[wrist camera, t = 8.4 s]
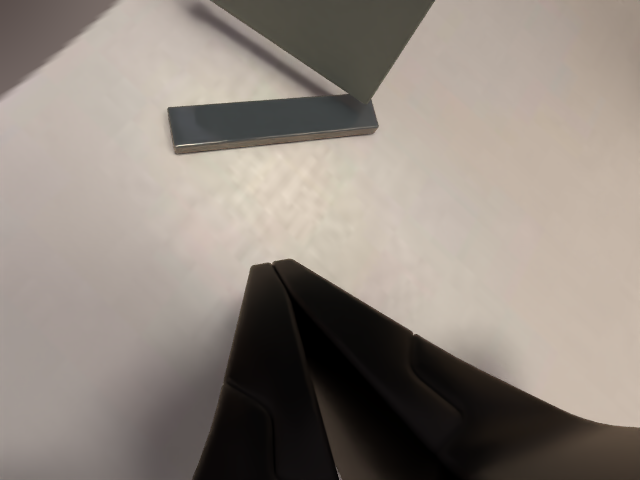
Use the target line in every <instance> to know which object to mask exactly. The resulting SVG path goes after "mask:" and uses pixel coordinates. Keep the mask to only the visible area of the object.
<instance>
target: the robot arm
mask: <svg viewBox="0 0 640 480" xmlns="http://www.w3.org/2000/svg"><path fill="white" fill-rule="evenodd" d="M335 465H336V466H335ZM336 467H337V469H338V472H339V474H340V476H341V479H342V480H640V428H636V427H623V426H613V425H608V424H602V423H597V422H594V421H590V420H587V419H584V418H581V417H578V416H575V415H573V414H570V413H568V412H566V411H563V410H561V409H559V408H557V407H555V406H553V405H551V404H549V403H547V402H545V401H543V400H541V399H539V398H537V397H534V396H532V395H530V394H528V393H526V392H524V391H522V390H520V389H518V388H516V387H514V386H512V385H510V384H508V383H506V382H504V381H502V380H500V379H498V378H496V377H494V376H492V375H490V374H488V373H486V372H484V371H482V370H480V369H478V368H476V367H474V366H472V365H470V364H468V363H466V362H464V361H462V360H460V359H458V358H457V357H455V356H453V355H451V354H450V353H448V352H446V351H444V350H443V349H441V348H439V347H437V346H436V345H434V344H432V343H431V342H429V341H427V340H426V339H424V338H422V337H421V336H419V335H417V334H414V336H413V332H412V331H410V330H409V329H407V328H405V327H404V326H402V325H400V324H399V323H397V322H395V321H394V320H392V319H391V318H389V317H387V316H386V315H384V314H382V313H381V312H379V311H377V310H376V309H374V308H372V307H371V306H369V305H367V304H366V303H364V302H362V301H361V300H359V299H357V298H356V297H354V296H352V295H351V294H349V293H348V292H346V291H344V290H343V289H341V288H339V287H338V286H336V285H334V284H333V283H331V282H329V281H328V280H326V279H324V278H323V277H321V276H319V275H318V274H316V273H314V272H313V271H311V270H309V269H308V268H306V267H305V266H303V265H301V264H300V263H298V262H296V261H295V260H293V259H284V260H279V261H274V262H273V263H272V264H271V263H263V264H258V265H253V266H252V267H251V268H250V272H249V276H248V281H247V285H246V289H245V293H244V297H243V302H242V306H241V310H240V314H239V318H238V322H237V327H236V331H235V335H234V339H233V343H232V348H231V352H230V356H229V360H228V364H227V368H226V373H225V377H224V381H223V385H222V388H221V392H220V396H219V401H218V405H217V408H216V412H215V415H214V419H213V422H212V426H211V429H210V432H209V435H208V438H207V441H206V443H205V446H204V449H203V452H202V455H201V457H200V460H199V463H198V465H197V468H196V470H195V473H194V475H193V478H192V480H339V477H338V474H337V470H336Z"/></svg>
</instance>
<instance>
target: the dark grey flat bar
mask: <svg viewBox="0 0 640 480" xmlns="http://www.w3.org/2000/svg"><path fill="white" fill-rule="evenodd" d="M167 110H168V116H169V122H170V128H171V133H172V139H173V145H174V150H175V153H176V154H180V153H189V152H199V151H208V150H218V149H228V148H237V147H247V146H257V145H266V144H276V143H285V142H295V141H305V140H314V139H324V138H333V137H343V136H353V135H362V134H372V133H374V132H375V131H376V130H377V129H378V122H377V119H376V115H375V111H374V107H373V104H372V100H370V101H369V103H368V104H367V105H365V104H363V103H362V102H360V101H359V100H357V99H356V98H355V97H353V96H352V95H350V94H343V95H329V96H315V97H302V98H288V99H275V100H261V101H248V102H234V103H221V104H207V105H193V106H180V107H169V108H168V109H167Z"/></svg>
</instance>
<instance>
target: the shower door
mask: <svg viewBox="0 0 640 480" xmlns="http://www.w3.org/2000/svg"><path fill="white" fill-rule="evenodd" d="M210 1H212V2H213V3H215V4H216V5H218V6H219V7H221V8H222V9H224V10H225V11H227V12H228V13H230V14H231V15H233V16H234V17H236V18H237V19H239V20H240V21H242V22H243V23H245V24H246V25H248V26H249V27H251V28H252V29H254V30H255V31H256V32H258V33H259V34H261V35H262V36H264V37H265V38H267V39H268V40H270V41H271V42H273V43H274V44H276V45H277V46H279V47H280V48H282V49H283V50H285V51H286V52H288V53H289V54H291V55H292V56H294V57H295V58H297V59H298V60H300V61H301V62H303V63H304V64H305V65H307V66H308V67H310V68H311V69H313V70H314V71H316V72H317V73H319V74H320V75H322V76H323V77H325V78H326V79H328V80H329V81H331V82H332V83H334V84H335V85H337V86H338V87H340V88H341V89H343V90H344V91H346V92H347V93H349V94H350V95H352V96H353V97H355V98H356V99H357V100H359V101H360V102H362V103H363V104H365V105H367V104H368V103H369V101H370V100H371V98H372V97H373V95H374V94H375V92H376V90H377V89H378V87H379V86H380V84H381V83H382V81H383V80H384V78H385V77H386V75H387V74H388V72H389V70H390V69H391V67H392V66H393V64H394V63H395V61H396V60H397V58H398V57H399V55H400V54H401V52H402V51H403V49H404V47H405V46H406V44H407V43H408V41H409V40H410V38H411V37H412V35H413V34H414V32H415V31H416V29H417V27H418V26H419V24H420V23H421V21H422V20H423V18H424V17H425V15H426V14H427V12H428V11H429V9H430V8H431V6H432V4H433V3H434V1H435V0H210Z"/></svg>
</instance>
